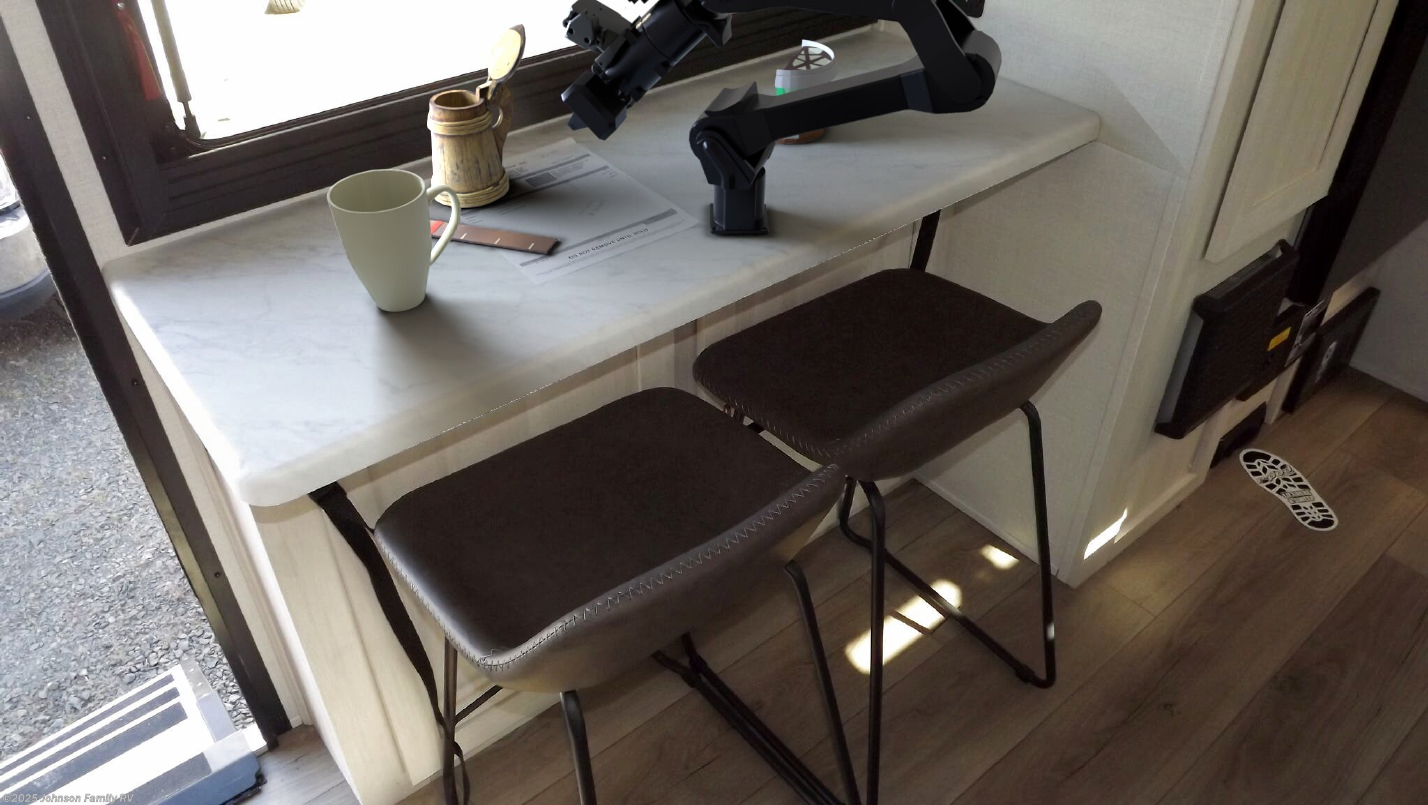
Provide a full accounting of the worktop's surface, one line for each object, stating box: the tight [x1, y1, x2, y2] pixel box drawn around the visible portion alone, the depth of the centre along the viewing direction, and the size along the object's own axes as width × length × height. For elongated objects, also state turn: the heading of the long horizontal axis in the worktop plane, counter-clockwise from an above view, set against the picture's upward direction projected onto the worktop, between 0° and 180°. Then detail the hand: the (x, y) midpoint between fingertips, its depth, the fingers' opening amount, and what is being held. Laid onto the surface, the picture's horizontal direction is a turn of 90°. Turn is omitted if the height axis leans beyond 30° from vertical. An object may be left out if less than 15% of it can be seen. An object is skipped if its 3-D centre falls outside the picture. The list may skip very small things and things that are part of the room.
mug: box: [326, 168, 462, 313], centre depth 101 cm, size 11×10×12 cm
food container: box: [774, 39, 839, 145], centre depth 133 cm, size 12×6×10 cm, turn 160°
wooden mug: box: [427, 23, 527, 208], centre depth 118 cm, size 9×14×18 cm, turn 123°
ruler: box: [430, 219, 558, 255], centre depth 114 cm, size 20×3×1 cm, turn 75°
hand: (571, 126), depth 116 cm, fingers closed
